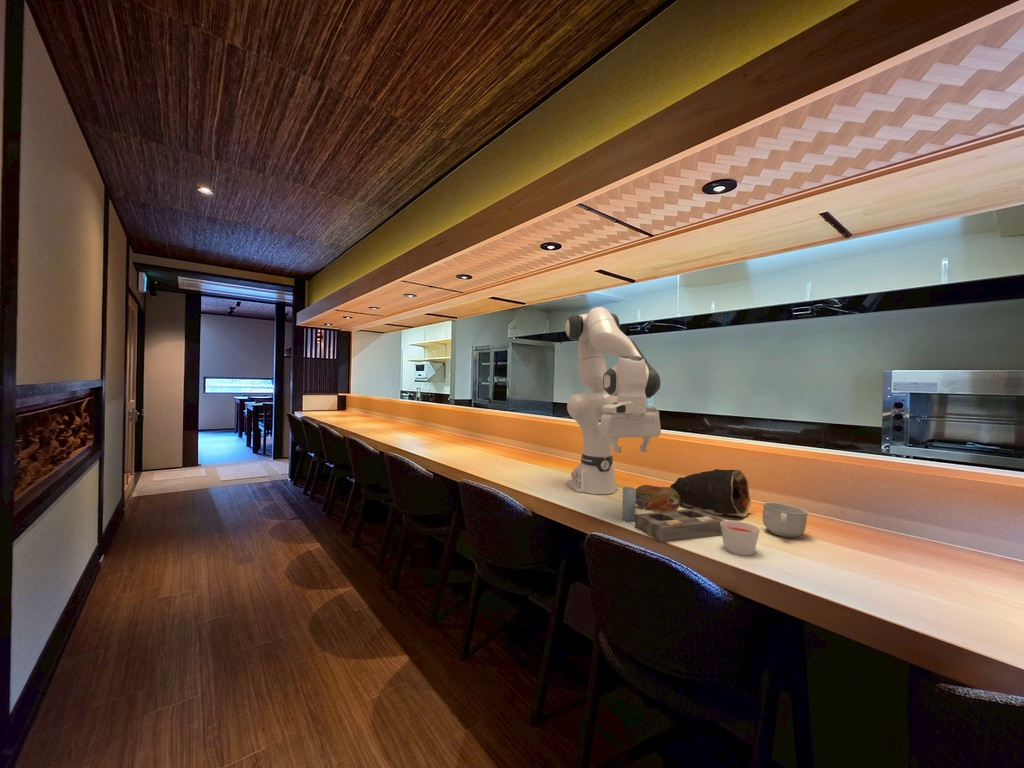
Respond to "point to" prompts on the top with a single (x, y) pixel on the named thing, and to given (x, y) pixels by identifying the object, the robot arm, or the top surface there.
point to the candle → (739, 537)
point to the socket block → (678, 525)
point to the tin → (657, 498)
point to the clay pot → (715, 492)
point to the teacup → (784, 519)
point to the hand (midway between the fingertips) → (630, 451)
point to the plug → (629, 504)
